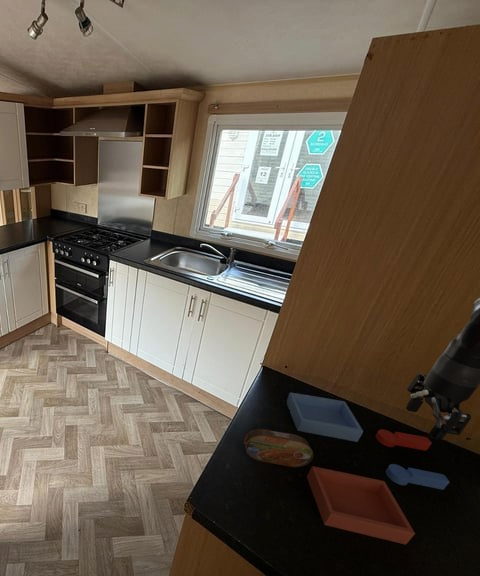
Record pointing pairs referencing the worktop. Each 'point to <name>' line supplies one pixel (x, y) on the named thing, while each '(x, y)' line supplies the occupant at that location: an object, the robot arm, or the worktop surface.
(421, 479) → the blue spoon
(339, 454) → the worktop surface
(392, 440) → the red spoon
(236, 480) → the worktop surface
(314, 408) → the blue bin
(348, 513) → the terracotta bin
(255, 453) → the tin
